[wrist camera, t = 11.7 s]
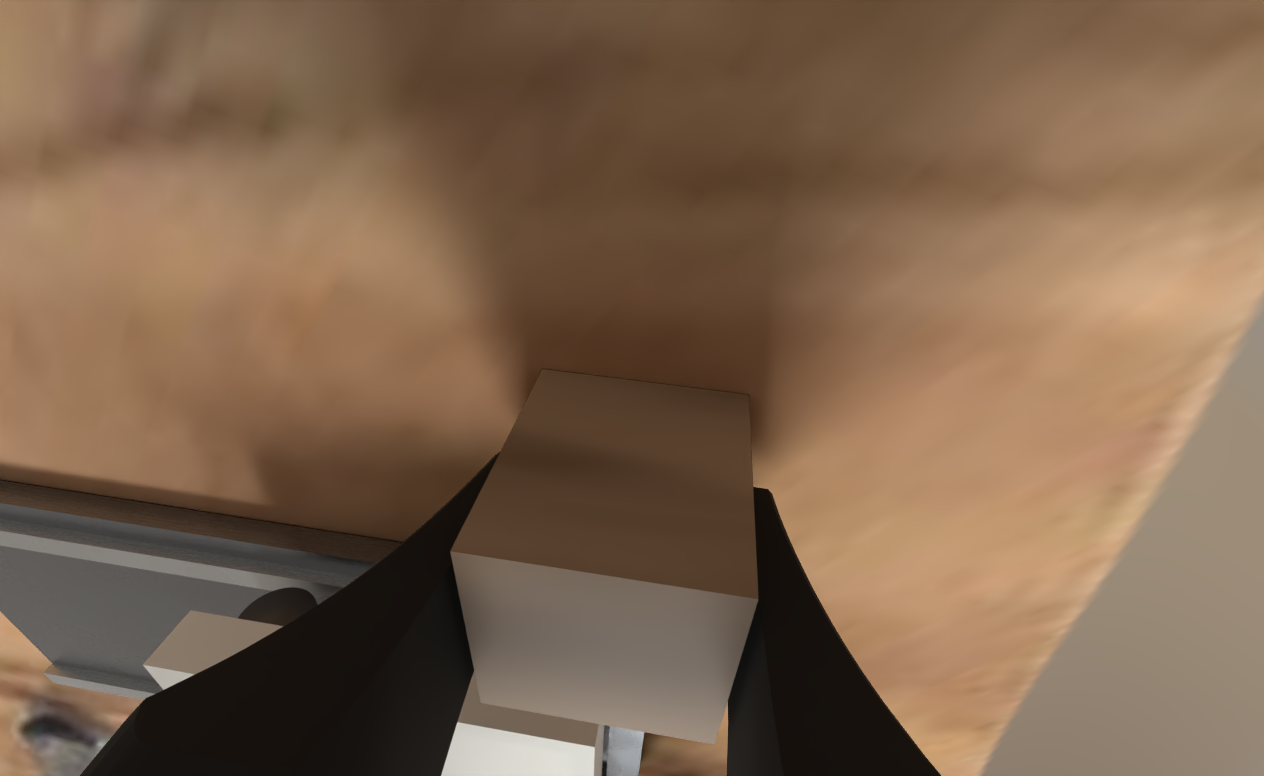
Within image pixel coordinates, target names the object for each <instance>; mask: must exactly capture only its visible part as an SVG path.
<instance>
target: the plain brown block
mask: <svg viewBox="0 0 1264 776" xmlns="http://www.w3.org/2000/svg"><path fill="white" fill-rule="evenodd" d="M450 553H451V558H452V563H453V568H454V573H455V578H456V583H457V588H458V592H459V597H460V602H461V607H462V612H463V617H464V622H465V627H466V632H467V637H468V642H469V647H470V652H471V657H472V662H473V666H474V671H475V676H476V681H477V686H478V691H479V696H480V701H481V703H484V704H490V705H495V706H501V707H506V708H512V709H518V710H523V711H529V712H534V713H540V714H545V715H551V716H557V717H562V718H568V719H573V720H579V721H585V722H590V723H596V724H601V725H607V726H613V727H618V728H624V729H629V730H635V731H641V732H646V733H652V734H657V735H663V736H668V737H674V738H680V739H685V740H691V741H696V742H702V743H708V744H713V745H714V744H715V741H716V738H717V734H718V731H719V728H720V725H721V721H722V718H723V715H724V711H725V708H726V705H727V702H728V698H729V695H730V692H731V688H732V685H733V682H734V678H735V675H736V672H737V669H738V665H739V662H740V659H741V655H742V652H743V649H744V645H745V642H746V639H747V636H748V632H749V629H750V626H751V622H752V619H753V616H754V612H755V609H756V606H757V603H758V578H757V557H756V535H755V514H754V493H753V472H752V450H751V429H750V408H749V395H746V394H738V393H730V392H722V391H714V390H706V389H698V388H690V387H682V386H674V385H666V384H658V383H650V382H642V381H634V380H626V379H618V378H610V377H602V376H594V375H586V374H578V373H570V372H562V371H554V370H546V369H542V371H541V373H540V375H539V377H538V379H537V380H536V382H535V384H534V386H533V388H532V390H531V392H530V394H529V396H528V398H527V400H526V402H525V404H524V406H523V408H522V410H521V412H520V414H519V416H518V418H517V420H516V422H515V424H514V426H513V428H512V430H511V432H510V434H509V436H508V438H507V440H506V442H505V444H504V446H503V448H502V450H501V452H500V454H499V456H498V458H497V460H496V462H495V464H494V466H493V468H492V469H491V471H490V473H489V475H488V477H487V479H486V481H485V483H484V485H483V487H482V489H481V491H480V493H479V495H478V497H477V499H476V501H475V503H474V505H473V507H472V509H471V511H470V513H469V515H468V517H467V519H466V521H465V523H464V525H463V527H462V529H461V531H460V533H459V535H458V537H457V539H456V541H455V543H454V545H453V547H452V549H451V551H450Z"/></svg>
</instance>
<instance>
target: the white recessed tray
mask: <svg viewBox="0 0 1264 776" xmlns="http://www.w3.org/2000/svg"><path fill="white" fill-rule="evenodd" d="M317 605H318V604H317V602H316V600H315V598H314V596H313V595H312V594H311V593H310V592H309V591H307V590H305V589H302V588H296V587H288V588H282V589H278V590H274V591H272V592H269V593H267V594H265V595H263V596H261V597H259V598H258V599H256V600H255V601H254V602H252V603H251V604H250V605H249V606H248V607H247V608H245V609H244V611H243V612H242V613H241V614H240V616H239V617H238V618H232V617H227V616H221V615H215V614H209V613H203V612H198V611H192V610H190V612H189V613H188V614H187V615H186V616H185V617H184V618H183V619H182V621H181V622H180V623H179V624H178V625H177V626H176V627H175V629H174V630H173V631H172V632H171V633H170V634H169V635H168V636H167V638H166V639H165V640H164V641H163V642H162V643H161V644H160V646H159V647H158V648H157V649H156V650H155V651H154V652H153V654H152V655H151V656H150V657H149V658H148V659H147V660H146V661H145V663H144V664H143V666H144V667H145V668H146V669H147V671H148V672H149V673H150V674H151V675H152V677H153V678H154V679H155V680H156V681H157V683H158V684H159V685H160V686H161V687H162V689H163V690H164V689H166V688H168V687H170V686H172V685H175V684H177V683H179V682H181V681H183V680H185V679H187V678H189V677H191V676H193V675H195V674H197V673H199V672H201V671H203V670H205V669H207V668H209V667H211V666H213V665H215V664H217V663H219V662H221V661H223V660H225V659H227V658H228V657H230V656H232V655H234V654H236V653H238V652H240V651H241V650H243V649H245V648H247V647H248V646H250V645H252V644H254V643H255V642H257V641H259V640H261V639H262V638H264V637H266V636H268V635H269V634H271V633H273V632H274V631H276V630H278V629H280V628H281V627H283V626H285V625H287V624H288V623H290V622H292V621H293V620H295V619H297V618H298V617H300V616H301V615H303V614H305V613H306V612H308V611H309V610H311V609H312V608H314V607H316V606H317ZM603 740H604V725H601V724H596V723H590V722H585V721H579V720H573V719H568V718H562V717H557V716H551V715H545V714H540V713H534V712H529V711H523V710H518V709H512V708H506V707H501V706H495V705H490V704H484V703H481V701H480V696H479V691H478V686H477V681H476V676H475V671H474V673H473V676H472V678H471V681H470V684H469V687H468V691H467V694H466V697H465V700H464V703H463V706H462V709H461V712H460V716H459V719H458V722H457V725H456V728H455V731H454V735H453V738H452V741H451V745H450V748H449V751H448V754H447V758H446V761H445V764H444V768H443V771H442V774H441V776H602V759H603Z"/></svg>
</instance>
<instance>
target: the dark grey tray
mask: <svg viewBox="0 0 1264 776" xmlns="http://www.w3.org/2000/svg"><path fill="white" fill-rule="evenodd" d="M400 544H402V543H400V542H394V541H387V540H381V539H374V538H368V537H362V536H355V535H349V534H342V533H336V532H329V531H323V530H317V529H310V528H304V527H297V526H291V525H284V524H278V523H272V522H265V521H259V520H252V519H246V518H239V517H233V516H227V515H220V514H214V513H207V512H201V511H194V510H188V509H182V508H175V507H169V506H162V505H156V504H149V503H143V502H137V501H130V500H124V499H117V498H111V497H104V496H98V495H92V494H85V493H79V492H72V491H66V490H59V489H53V488H47V487H40V486H34V485H27V484H21V483H14V482H8V481H2V480H0V611H1V612H2V613H3V614H4V615H5V616H6V617H7V618H8V619H9V620H10V621H11V622H12V623H13V624H14V625H15V626H16V627H17V628H18V629H19V630H20V631H21V632H22V633H23V634H24V635H25V636H26V637H27V638H28V639H29V640H30V641H31V642H32V643H33V644H34V645H35V646H36V647H37V648H38V649H39V650H40V651H41V652H42V653H43V654H44V655H45V656H46V657H47V658H48V659H49V660H50V661H51V662H52V663H53V664H52V665H50V666H49V667H48V668H47V669H46V670H45V671H44V672H43V673H44V674H45V675H46V676H47V677H48V678H49V679H50V680H51V681H52V682H53V683H56V684H62V685H67V686H72V687H78V688H83V689H88V690H94V691H99V692H104V693H109V694H115V695H120V696H125V697H131V698H136V699H141V700H145V698H147V697H150V696H152V695H154V694H156V693H158V692H160V691H162V690H163V689H162V687H161V686H160V685H159V684H158V683H157V681H156V680H155V679H154V678H153V677H152V675H151V674H150V673H149V672H148V671H147V669H146V668H145V667H144V666H143V664H144V663H145V661H146V660H147V659H148V658H149V657H150V656H151V655H152V654H153V652H154V651H155V650H156V649H157V648H158V647H159V646H160V644H161V643H162V642H163V641H164V640H165V639H166V638H167V636H168V635H169V634H170V633H171V632H172V631H173V630H174V629H175V627H176V626H177V625H178V624H179V623H180V622H181V621H182V619H183V618H184V617H185V616H186V615H187V614H188V613H189V612H190V610H192V611H198V612H203V613H209V614H215V615H221V616H227V617H232V618H238V617H239V616H240V614H241V613H242V612H243V611H244V609H245V608H247V607H248V606H249V605H250V604H251V603H252V602H254V601H255V600H256V599H258V598H259V597H261V596H263V595H265V594H267V593H269V592H272V591H274V590H278V589H282V588H288V587H296V588H302V589H305V590H307V591H309V592H310V593H311V594H312V595H313V596H314V598H315V600H316V602H317V604H318V605H319V604H320V603H321V602H323V601H324V600H326V599H327V598H329V597H330V596H332V595H333V594H335V593H336V592H338V591H339V590H341V589H342V588H344V587H345V586H347V585H348V584H350V583H351V582H352V581H354V580H355V579H356V578H358V577H359V576H361V575H362V574H363V573H365V572H366V571H367V570H369V569H370V568H371V567H373V566H374V565H375V564H377V563H378V562H379V561H381V560H382V559H383V558H384V557H386V556H387V555H388V554H389V553H391V552H392V551H393V550H394V549H396V548H397V547H398V546H399V545H400ZM643 738H644V732H641V731H635V730H629V729H624V728H618V727H613V726H607V725H604V740H603V759H602V776H638V774H639V766H640V759H641V752H642V745H643Z"/></svg>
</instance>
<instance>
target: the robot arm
mask: <svg viewBox="0 0 1264 776" xmlns="http://www.w3.org/2000/svg"><path fill="white" fill-rule="evenodd" d="M499 454H500V452H499V453H498V454H497V455H495V456H494V457H493V458H492V459H491V460H490V461H489V462H488V463H487V464H486V465H485V466H484V467H483V469H482V470H481V471H480V472H479V473H478V474H477V475H476V476H475V477H474V478H473V479H472V480H471V481H470V482H469V483H468V484H467V485H466V486H465V487H464V488H463V489H462V490H460V491H459V492H458V493H457V494H456V495H455V496H454V497H453V498H452V499H451V500H450V501H449V502H448V503H447V504H446V505H445V506H444V507H443V508H441V509H440V510H439V511H438V512H437V513H436V514H435V515H434V516H433V517H432V518H431V519H430V520H428V521H427V522H426V523H425V524H424V525H423V526H422V527H420V528H419V529H418V530H417V531H416V532H415V533H413V534H412V535H411V536H410V537H409V538H407V539H406V540H405V541H404V542H403V543H402V544H400V545H399V546H398V547H397V548H396V549H394V550H393V551H392V552H391V553H389V554H388V555H387V556H386V557H384V558H383V559H382V560H381V561H379V562H378V563H377V564H375V565H374V566H373V567H371V568H370V569H369V570H367V571H366V572H365V573H363V574H362V575H361V576H359V577H358V578H356V579H355V580H354V581H352V582H351V583H350V584H348V585H347V586H345V587H344V588H342V589H341V590H339V591H338V592H336V593H335V594H333V595H332V596H330V597H329V598H327V599H326V600H324V601H323V602H321V603H320V604H319V605H317V606H316V607H314V608H312V609H311V610H309V611H308V612H306V613H305V614H303V615H301V616H300V617H298V618H297V619H295V620H293V621H292V622H290V623H288V624H287V625H285V626H283V627H281V628H280V629H278V630H276V631H274V632H273V633H271V634H269V635H268V636H266V637H264V638H262V639H261V640H259V641H257V642H255V643H254V644H252V645H250V646H248V647H247V648H245V649H243V650H241V651H240V652H238V653H236V654H234V655H232V656H230V657H228V658H227V659H225V660H223V661H221V662H219V663H217V664H215V665H213V666H211V667H209V668H207V669H205V670H203V671H201V672H199V673H197V674H195V675H193V676H191V677H189V678H187V679H185V680H183V681H181V682H179V683H177V684H175V685H172V686H170V687H168V688H166V689H164V690H162V691H160V692H158V693H156V694H154V695H152V696H150V697H147V698H145V700H144V701H143V702H142V703H141V704H140V705H139V706H138V707H137V708H136V709H135V711H134V712H133V713H132V714H131V715H130V716H129V717H128V718H127V719H126V721H125V722H124V723H123V724H122V725H121V726H120V728H119V729H118V730H117V731H116V732H115V734H114V735H113V736H112V737H111V739H110V740H109V741H108V742H107V743H106V745H105V746H104V747H103V748H102V749H101V751H100V752H99V753H98V754H97V755H96V757H95V758H94V759H93V760H92V762H91V763H90V764H89V765H88V766H87V768H86V769H85V770H84V771H83V772H82V774H81V775H80V776H441V774H442V771H443V768H444V764H445V761H446V758H447V754H448V751H449V748H450V745H451V741H452V738H453V735H454V731H455V728H456V725H457V722H458V719H459V716H460V712H461V709H462V706H463V703H464V700H465V697H466V694H467V691H468V687H469V684H470V681H471V678H472V676H473V673H474V666H473V662H472V657H471V652H470V647H469V642H468V637H467V632H466V627H465V622H464V617H463V612H462V607H461V602H460V597H459V592H458V588H457V583H456V578H455V573H454V568H453V563H452V558H451V553H450V551H451V549H452V547H453V545H454V543H455V541H456V539H457V537H458V535H459V533H460V531H461V529H462V527H463V525H464V523H465V521H466V519H467V517H468V515H469V513H470V511H471V509H472V507H473V505H474V503H475V501H476V499H477V497H478V495H479V493H480V491H481V489H482V487H483V485H484V483H485V481H486V479H487V477H488V475H489V473H490V471H491V469H492V468H493V466H494V464H495V462H496V460H497V458H498V456H499ZM753 493H754V514H755V535H756V557H757V578H758V603H757V606H756V609H755V612H754V616H753V619H752V622H751V626H750V629H749V632H748V636H747V639H746V642H745V645H744V649H743V652H742V655H741V659H740V662H739V665H738V669H737V672H736V675H735V678H734V682H733V685H732V688H731V692H730V695H729V698H728V754H727V776H941V775H940V774H939V772H938V771H937V770H936V769H935V768H934V766H933V765H932V764H931V763H930V762H929V760H928V759H927V758H926V757H925V756H924V754H923V753H922V752H921V750H920V749H919V748H918V746H917V745H916V744H915V742H914V741H913V740H912V739H911V737H910V736H909V735H908V733H907V732H906V731H905V729H904V728H903V727H902V726H901V724H900V723H899V722H898V720H897V719H896V718H895V716H894V715H893V714H892V712H891V711H890V710H889V709H888V707H887V706H886V705H885V703H884V702H883V701H882V699H881V698H880V696H879V695H878V693H877V692H876V691H875V689H874V688H873V686H872V685H871V683H870V682H869V680H868V679H867V678H866V676H865V675H864V673H863V672H862V670H861V669H860V667H859V666H858V664H857V663H856V661H855V660H854V658H853V656H852V655H851V653H850V652H849V650H848V649H847V647H846V646H845V644H844V642H843V641H842V639H841V637H840V636H839V634H838V632H837V631H836V629H835V627H834V626H833V624H832V622H831V621H830V619H829V617H828V615H827V613H826V612H825V610H824V608H823V606H822V604H821V603H820V601H819V599H818V597H817V595H816V593H815V591H814V590H813V588H812V586H811V584H810V582H809V580H808V578H807V576H806V574H805V572H804V570H803V568H802V566H801V563H800V561H799V559H798V557H797V555H796V553H795V551H794V549H793V546H792V544H791V542H790V540H789V537H788V535H787V533H786V530H785V528H784V525H783V523H782V520H781V518H780V515H779V513H778V510H777V507H776V504H775V501H774V498H773V495H772V493H771V492H770V491H769V490H768V489H763V488H756V487H753Z"/></svg>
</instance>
